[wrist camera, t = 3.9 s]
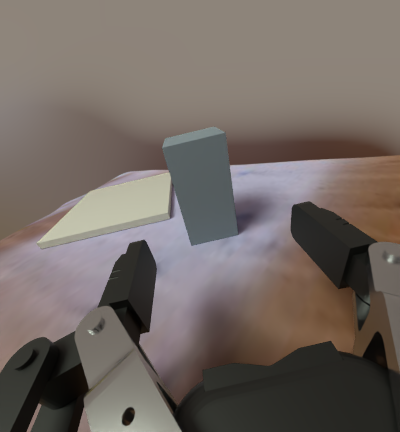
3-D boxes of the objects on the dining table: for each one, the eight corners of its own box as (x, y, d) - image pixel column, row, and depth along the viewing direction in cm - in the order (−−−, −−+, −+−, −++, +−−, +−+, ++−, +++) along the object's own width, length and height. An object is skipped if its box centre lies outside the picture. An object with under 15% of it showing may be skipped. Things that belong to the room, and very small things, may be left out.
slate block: (227, 211, 24) (214, 126, 19) (238, 234, 19) (225, 132, 14) (188, 220, 24) (165, 138, 19) (191, 245, 19) (161, 147, 14)
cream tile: (172, 176, 40) (171, 171, 40) (170, 218, 25) (167, 212, 25) (92, 195, 41) (90, 191, 40) (41, 249, 25) (36, 243, 25)
